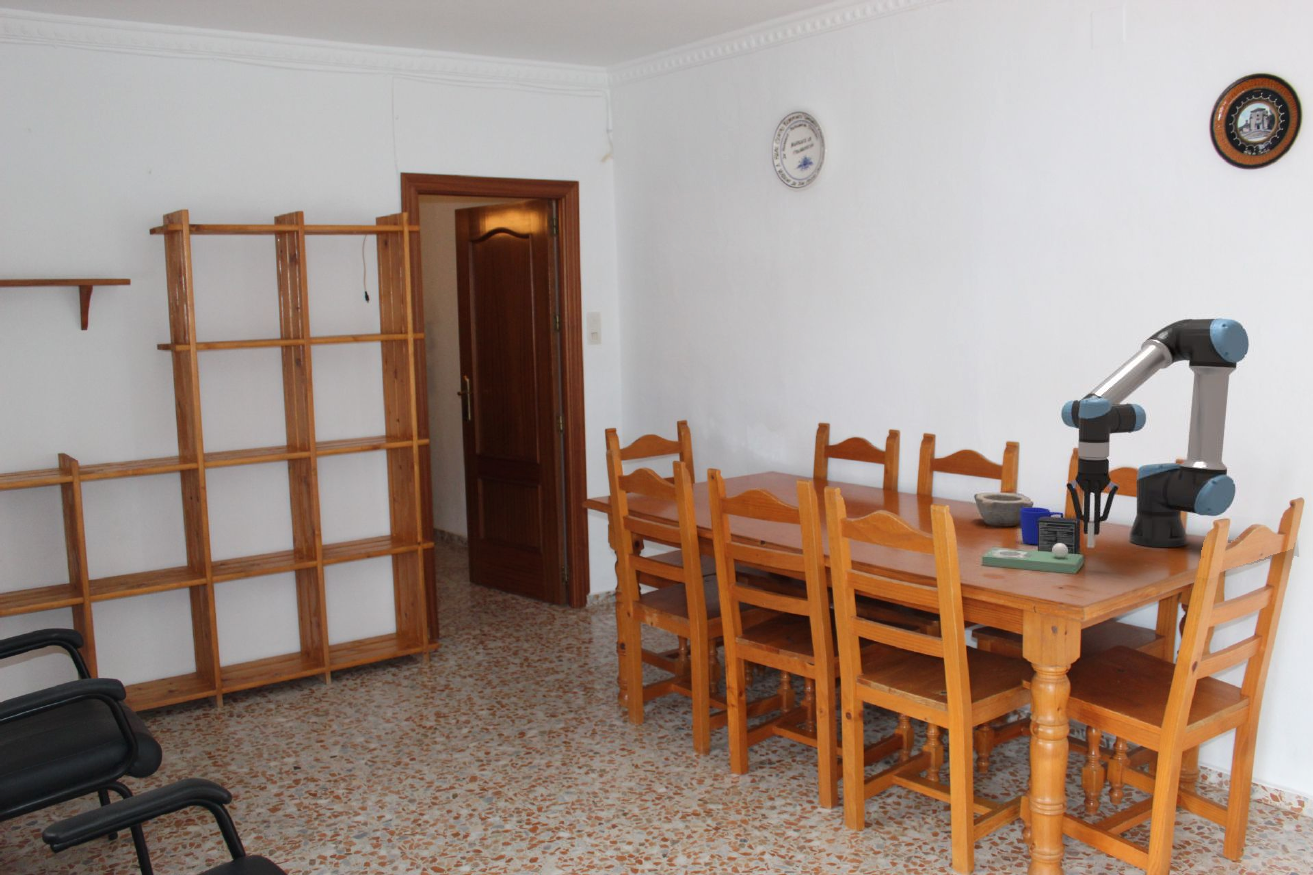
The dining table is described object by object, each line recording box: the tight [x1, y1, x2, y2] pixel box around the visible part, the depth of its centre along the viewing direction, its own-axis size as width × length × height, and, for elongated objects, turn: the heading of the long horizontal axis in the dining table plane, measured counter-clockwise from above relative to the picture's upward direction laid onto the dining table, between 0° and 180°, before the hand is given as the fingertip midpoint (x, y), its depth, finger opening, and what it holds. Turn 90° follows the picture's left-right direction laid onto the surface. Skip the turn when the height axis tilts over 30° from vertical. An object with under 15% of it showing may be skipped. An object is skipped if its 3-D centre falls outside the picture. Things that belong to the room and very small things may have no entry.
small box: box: [1037, 516, 1081, 555], centre depth 295 cm, size 11×6×10 cm, turn 59°
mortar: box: [973, 492, 1035, 528], centre depth 339 cm, size 17×17×9 cm
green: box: [981, 546, 1084, 575], centre depth 286 cm, size 24×12×2 cm, turn 59°
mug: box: [1020, 506, 1064, 546], centre depth 310 cm, size 8×12×10 cm
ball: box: [1052, 543, 1068, 558], centre depth 282 cm, size 4×4×4 cm
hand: (1091, 546), depth 277 cm, fingers closed
